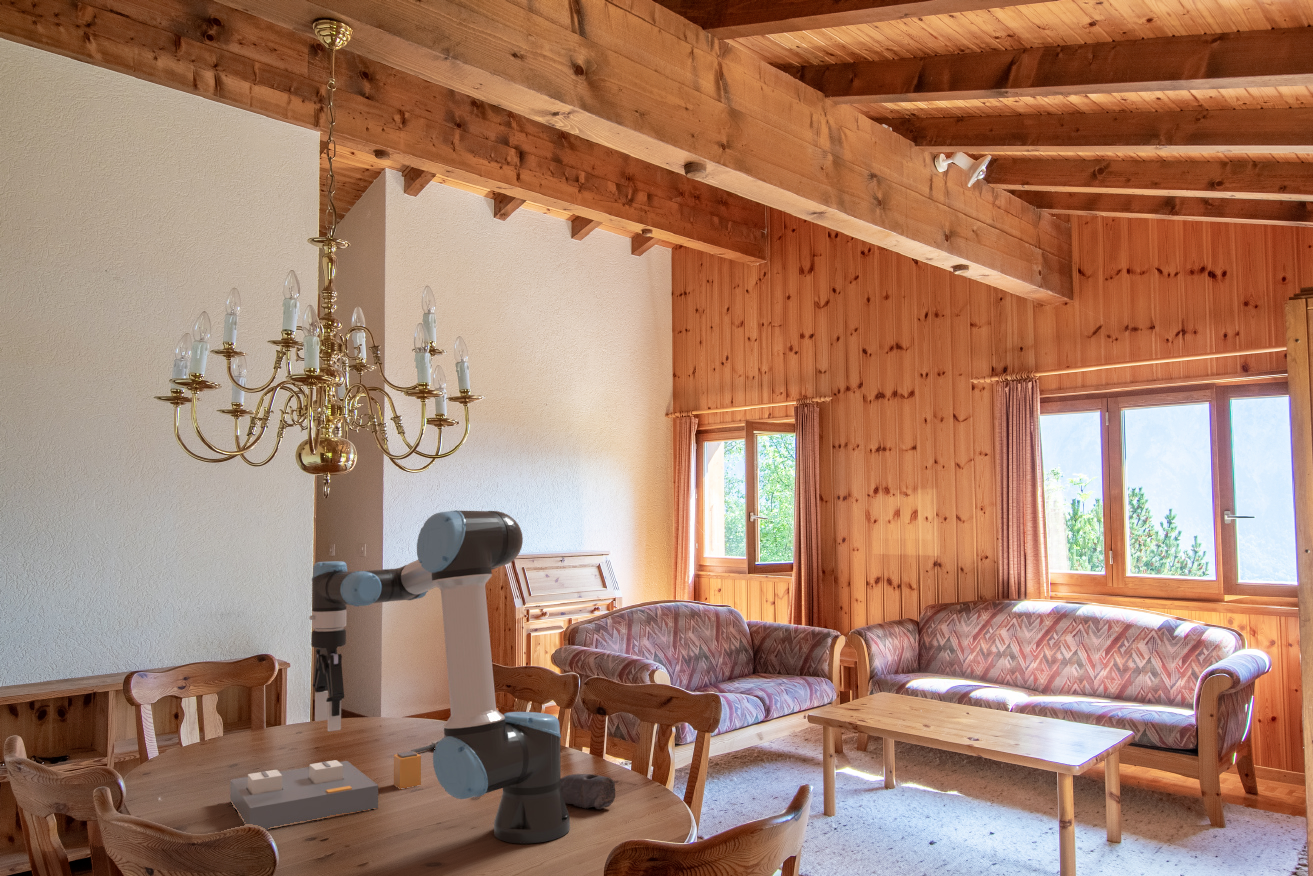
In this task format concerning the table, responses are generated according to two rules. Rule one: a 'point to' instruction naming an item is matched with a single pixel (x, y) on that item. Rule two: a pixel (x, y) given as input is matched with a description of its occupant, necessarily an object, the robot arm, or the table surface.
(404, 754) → the cap
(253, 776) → the breaker untagged
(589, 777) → the perforated stone tool
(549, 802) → the robot arm
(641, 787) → the table surface
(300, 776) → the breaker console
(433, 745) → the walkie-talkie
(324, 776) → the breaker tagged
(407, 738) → the table surface
